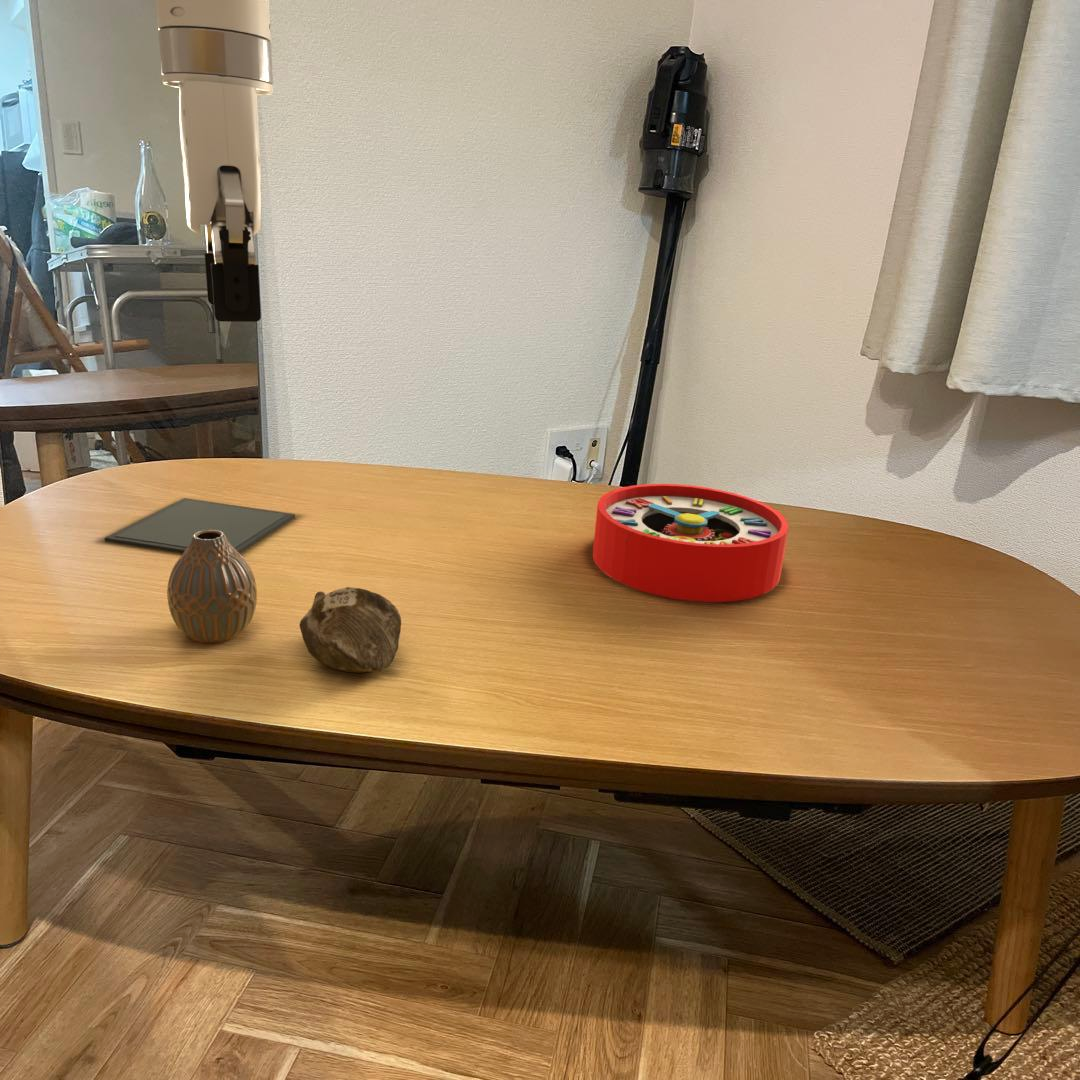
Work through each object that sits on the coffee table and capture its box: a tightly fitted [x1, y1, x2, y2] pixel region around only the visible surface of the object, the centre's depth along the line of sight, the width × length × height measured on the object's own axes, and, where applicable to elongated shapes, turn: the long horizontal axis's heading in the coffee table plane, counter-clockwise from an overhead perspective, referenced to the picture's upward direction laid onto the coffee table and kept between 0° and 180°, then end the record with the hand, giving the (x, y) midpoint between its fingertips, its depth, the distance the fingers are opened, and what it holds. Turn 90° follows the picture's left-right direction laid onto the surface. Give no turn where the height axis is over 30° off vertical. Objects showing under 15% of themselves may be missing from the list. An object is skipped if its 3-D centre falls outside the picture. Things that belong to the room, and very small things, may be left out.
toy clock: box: [592, 483, 789, 603], centre depth 96 cm, size 20×6×20 cm
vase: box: [166, 530, 258, 644], centre depth 73 cm, size 7×7×9 cm
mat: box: [104, 497, 296, 554], centre depth 97 cm, size 14×14×1 cm
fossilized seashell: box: [299, 586, 402, 674], centre depth 72 cm, size 8×7×10 cm
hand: (233, 312), depth 70 cm, fingers open, 9 cm apart
